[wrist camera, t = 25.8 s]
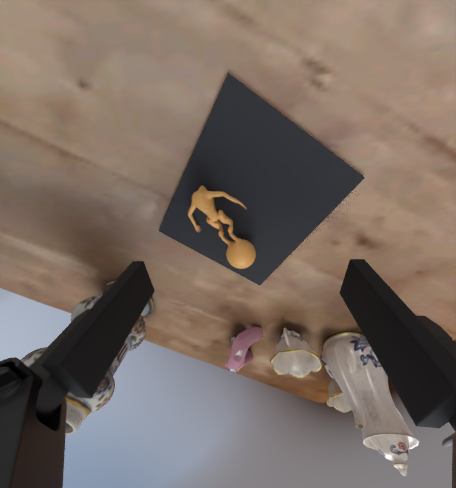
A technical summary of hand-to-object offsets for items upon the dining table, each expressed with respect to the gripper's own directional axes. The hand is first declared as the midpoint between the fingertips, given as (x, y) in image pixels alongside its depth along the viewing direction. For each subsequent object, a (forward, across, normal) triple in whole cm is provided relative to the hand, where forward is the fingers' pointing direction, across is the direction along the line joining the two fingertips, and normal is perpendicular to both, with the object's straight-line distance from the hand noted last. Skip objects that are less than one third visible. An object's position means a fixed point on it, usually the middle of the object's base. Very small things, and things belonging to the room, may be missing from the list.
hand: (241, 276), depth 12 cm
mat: (+14, 0, 0) cm, 14 cm away
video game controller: (+14, -1, -28) cm, 32 cm away
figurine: (+10, 0, -8) cm, 12 cm away
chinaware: (+14, +17, -31) cm, 38 cm away
